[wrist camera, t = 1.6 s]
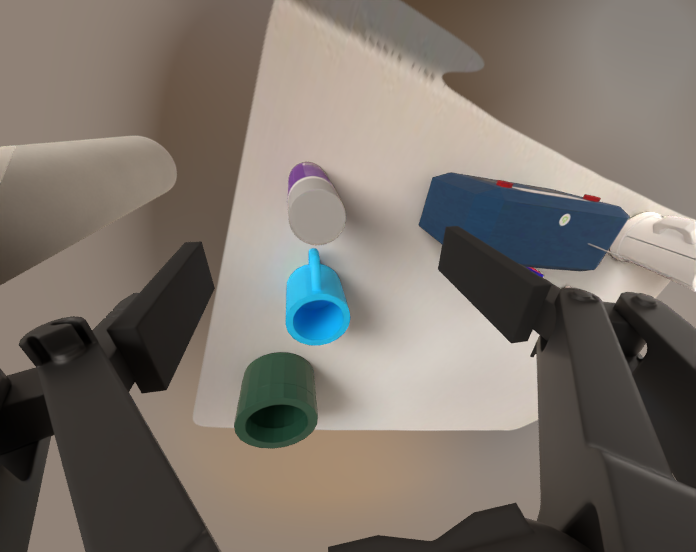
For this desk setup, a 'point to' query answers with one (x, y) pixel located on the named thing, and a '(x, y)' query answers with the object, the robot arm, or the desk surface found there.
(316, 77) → the desk surface
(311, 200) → the container
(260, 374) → the jar
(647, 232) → the cup
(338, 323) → the mug
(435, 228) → the radio
